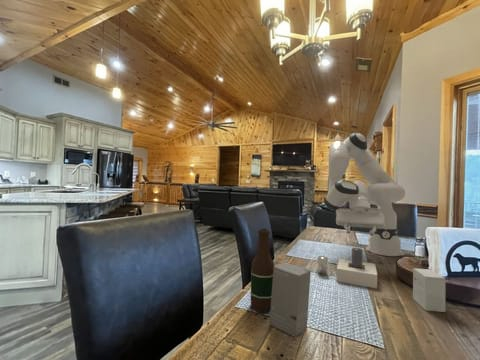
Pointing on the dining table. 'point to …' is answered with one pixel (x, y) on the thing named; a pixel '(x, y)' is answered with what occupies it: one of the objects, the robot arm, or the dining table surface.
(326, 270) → the short pin
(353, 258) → the dark gray tall block
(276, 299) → the skincare box
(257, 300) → the beer bottle
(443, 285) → the small box
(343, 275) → the socket block
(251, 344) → the dining table surface
